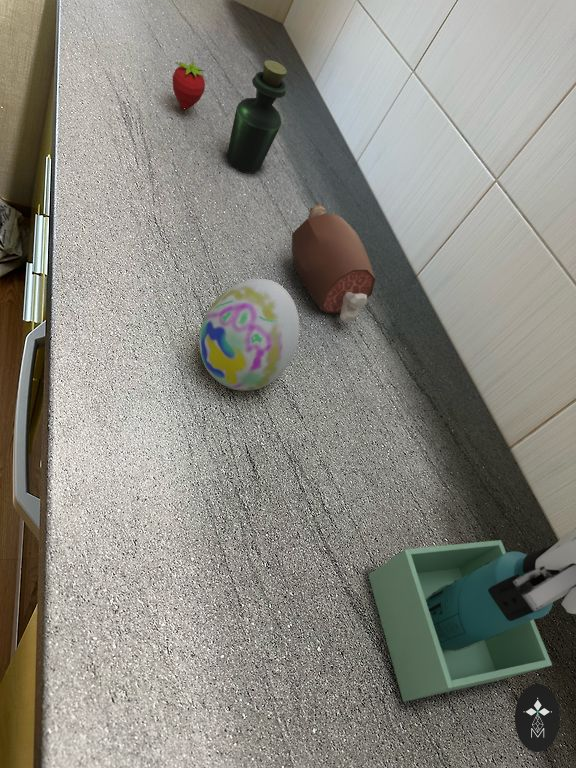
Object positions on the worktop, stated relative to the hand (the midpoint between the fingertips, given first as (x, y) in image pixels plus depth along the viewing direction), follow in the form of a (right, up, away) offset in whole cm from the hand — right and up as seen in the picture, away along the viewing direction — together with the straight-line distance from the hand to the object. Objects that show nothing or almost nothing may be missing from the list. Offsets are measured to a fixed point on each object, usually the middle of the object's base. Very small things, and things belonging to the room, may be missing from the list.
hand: (523, 585), depth 54 cm
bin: (-5, -9, +12) cm, 16 cm away
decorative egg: (-29, +21, +24) cm, 43 cm away
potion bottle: (-30, +60, +52) cm, 85 cm away
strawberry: (-42, +71, +55) cm, 99 cm away
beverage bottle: (-5, -9, +11) cm, 15 cm away
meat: (-17, +35, +39) cm, 55 cm away
